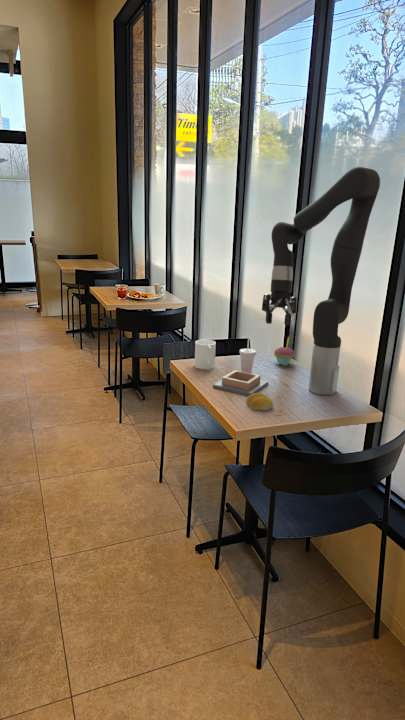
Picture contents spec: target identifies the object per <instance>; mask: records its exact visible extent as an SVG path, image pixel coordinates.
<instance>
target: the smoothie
mask: <svg viewBox="0 0 405 720" xmlns="http://www.w3.org/2000/svg"><path fill="white" fill-rule="evenodd" d="M256 354H257V351H256V349H254V348H253V349H252V348H250V339H249V338H248V339H247V348H240V349H239V355H240V368H241V369H240V371H242V372H247V373H253V366H254V361H255V358H256Z"/></svg>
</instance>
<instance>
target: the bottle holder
mask: <svg viewBox="0 0 405 720" xmlns="http://www.w3.org/2000/svg"><path fill="white" fill-rule="evenodd" d="M261 377H262V376H261V375H260V374H256V373H253V372H251V373H247V372H242V371H241V370H237V369H234V370H233V371H230V372H229V373H227V374H225V375H224V376H222V377H221V379H220V380H218V381H216V382H215V383H213V385H212V388H214V389H218V390H222V391H226V392H230V393H234V394H238V395H243V396H247V397H248V396H250V395H251V394H253V393H259V391H261V390H263V389H265V387H266V386H268V385H269V381H268V380H265V379H261Z"/></svg>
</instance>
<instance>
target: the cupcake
mask: <svg viewBox="0 0 405 720" xmlns="http://www.w3.org/2000/svg"><path fill="white" fill-rule="evenodd" d="M289 342H290V336H288V337H287V340H286V345H285V346H286V347H284V346H281V347H278V348H276V349H275V350H274V352H273V356H274V357H275V358H276V361H277V362H276V363H277V364H278V363H279V364H282V365H281V366H289V365H290V363H291V361H292V359H293V358H294V357H295V351H294V350H293V349H292V348H290V347H289ZM279 364H278V365H279ZM288 364H289V365H288Z"/></svg>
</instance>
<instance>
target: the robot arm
mask: <svg viewBox="0 0 405 720" xmlns="http://www.w3.org/2000/svg"><path fill="white" fill-rule="evenodd" d="M380 186H381V177H380V174H379V173H378V171H376V170H374V169H372V168H369V167H363V166H355V167H353V168H350V169H349V170H348V171H347V172H345V173H344V174H343V175H342V176H341V177H340V178H339V179H338V180H337V181H336V182H335V183H334V184H333V185H332V186H331V187H330V188H329V189H328V190H327V191H326V192H324V193H323V194H322V195H321V196H320V197H318V198H317V199H316V200H314V201H313V202H312V203H310V204H308V205H307V206H306V207H304V208H303V209H302V210H300V211H299V212H298V213H296V215H294V217H293V223H292V224H291V223H288V222H285V221H284V222H283V221H278V222H276V223H275V225H274V226H273V227H272V231H271V243H272V250H273V266H272V267H273V268H272V271H271V281H270V292H271V293H270V294H269V293H268V294H267V293H264V294H263V297H262V304H261V305H262V306H261V311H262V312H265V323H266V324H268V325H269V324H270V325H272V322H273V312H274V311H275V309H277V308H279V309H282V310H283V311H284V313H285V315H284V321H283V324H284V325H285V326H290V325H291V319H292V315H294V314H296V313H297V305H298V303H297V302H298V301H297V300H298V299H297V298H298V297H296V296H291V293H292V289H293V278H294V276H293V275H294V270H293V269H294V257H295V256H294V255H295V254H294V251H292V250H290V249H289V245H293V244H296V243H298V242H299V241H300V240H301V239H302V238H303V237H304V236H305V235H306V234H307V233H308V231H310V230H312V229H313V228H315V227H317V226H318V225H320V223H322V222H323V221H325V220H326V218H327V217H328V216H329V215H330V214H331V213H332V212H333V210H334V209H336V208H337V207H338V206H339V205H342V204H344V203H345V202H347V201H350V200H351V203H350V208H349V211H348V214H347V216H346V218H345V220H344V222H343V224H342V225H341V227H340V229H338V232H337V234H336V236H335V239H334V241H333V245H332V248H331V249H332V250H331V253H330V271H331V287H330V290H329V294H328V295H329V296H328V298H327V299H325V300H322V301H320V302H319V303H317V305H316V306H315V309H314V312H313V319H312V320H313V323H312V337H313V346H312V355H311V361H310V362H311V364H310V372H309V382H308V391H309V392H311V393H313V394H316V395H321V396H322V395H323V396H333V395H334V394H335V393H336V392H337V387H338V380H339V375H340V374H339V372H340V365H339V360H340V359H339V358H340V351H341V346H342V338H341V337H340V335H338V333H339V325H341V324H343V323H344V322H345V320H347V317H348V315H349V312H350V303H351V297H352V290H353V285H354V281H355V278H356V273H357V270H358V267H359V262H360V259H361V254H362V250H363V245H364V241H365V237H366V232H367V229H368V225H369V221H370V217H371V213H372V210H373V207H374V205H375V202H376V199H377V197H378V193H379V189H380Z"/></svg>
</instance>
